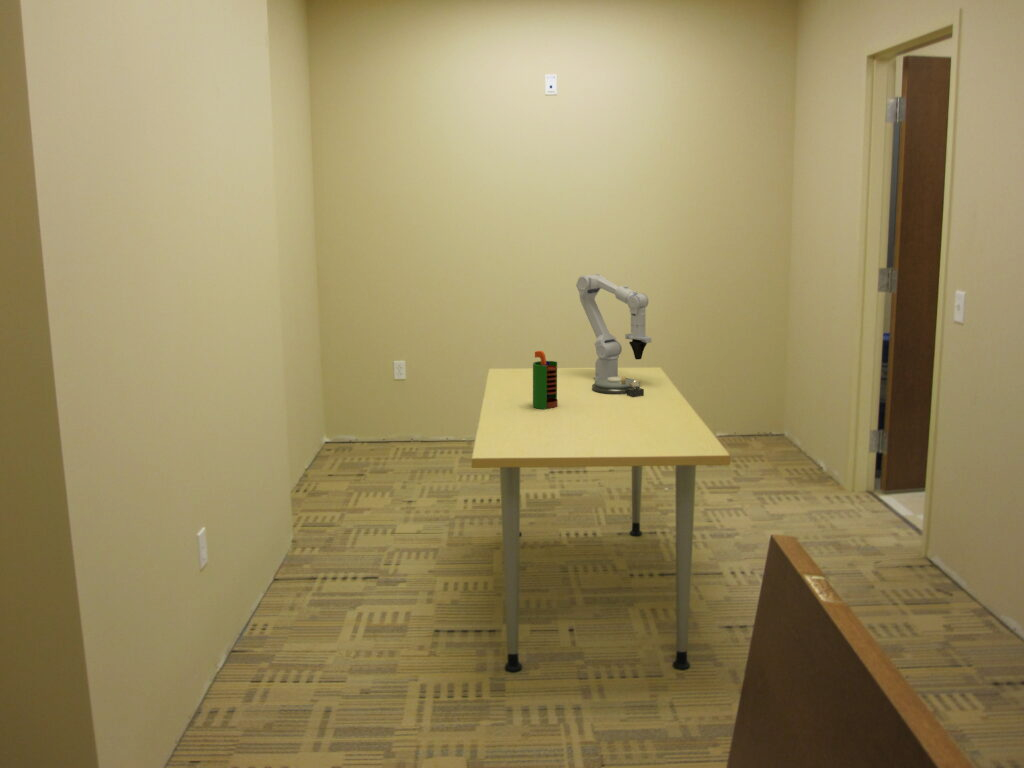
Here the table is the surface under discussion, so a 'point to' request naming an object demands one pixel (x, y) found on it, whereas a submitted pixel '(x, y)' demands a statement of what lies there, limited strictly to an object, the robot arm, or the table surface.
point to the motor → (544, 382)
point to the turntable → (614, 382)
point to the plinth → (608, 390)
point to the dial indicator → (635, 389)
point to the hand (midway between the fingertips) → (638, 359)
